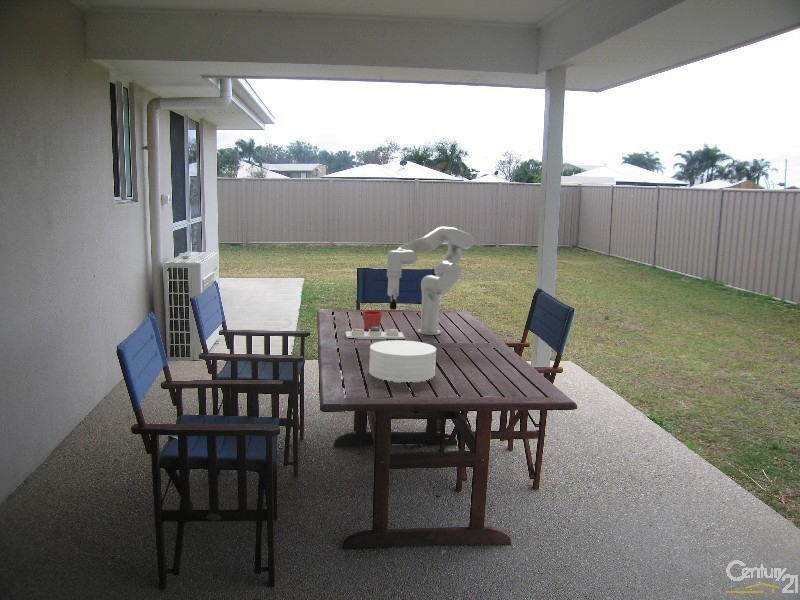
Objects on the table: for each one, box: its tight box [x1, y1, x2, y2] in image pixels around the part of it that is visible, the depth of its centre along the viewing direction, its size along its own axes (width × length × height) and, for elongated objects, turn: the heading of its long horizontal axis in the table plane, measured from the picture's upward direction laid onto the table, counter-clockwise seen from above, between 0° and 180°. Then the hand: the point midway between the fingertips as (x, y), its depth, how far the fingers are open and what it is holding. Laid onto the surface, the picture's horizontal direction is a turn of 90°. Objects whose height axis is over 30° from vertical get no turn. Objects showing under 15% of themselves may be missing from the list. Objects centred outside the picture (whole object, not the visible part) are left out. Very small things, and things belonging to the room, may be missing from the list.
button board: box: [345, 328, 406, 340], centre depth 366 cm, size 12×30×4 cm, turn 97°
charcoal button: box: [371, 326, 380, 331], centre depth 366 cm, size 4×4×2 cm
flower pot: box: [362, 310, 383, 331], centre depth 384 cm, size 11×11×10 cm
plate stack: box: [368, 339, 437, 384], centre depth 296 cm, size 28×28×12 cm
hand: (393, 309), depth 366 cm, fingers closed
